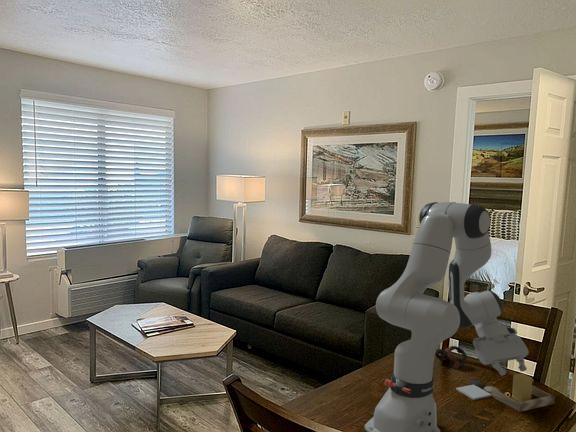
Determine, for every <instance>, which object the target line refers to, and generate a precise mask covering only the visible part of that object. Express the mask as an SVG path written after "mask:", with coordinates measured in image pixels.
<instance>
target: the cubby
mask: <svg viewBox="0 0 576 432" xmlns="http://www.w3.org/2000/svg"><path fill="white" fill-rule="evenodd" d="M491 395H492V396H491V397H492V398H494V399H496V400H497V401H499V402H501V403H503V404H505V405H506V406H508V407H510V408H512V409H513V410H515V411H517V412H519V413H520V412H524V411H525V412H526V411H529V410H534V409H538V408H539V409H540V408H542V407H546V406H547V407H548V406H550V405H551V406H552V405H555V403H556V396H555V395H553V394H551V393H549V392H547V391H545V390H543V389H540V388H538V387H536V386H535V385H532V392H531V395H534V396H535V397H536V398H533V399H532V398H531V400H528V401H523V402H519V401H517V400H515V399H514V398H512V396H511V397H510V396H509V395H507V394H506V393H505V394H504V392H502V391H500V392H499V391H497V390H496V389H492V393H491Z"/></svg>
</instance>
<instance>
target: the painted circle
mask: <svg viewBox="0 0 576 432" xmlns="http://www.w3.org/2000/svg"><path fill="white" fill-rule="evenodd" d="M492 389H496V390H497V391H499V392H501V390H500V389H499V388H497V387H495V386H490V385H489V386H488V385H487V386H484V387H483V390H484V391H486V392H488V393H490V394H492Z"/></svg>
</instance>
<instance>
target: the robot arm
mask: <svg viewBox="0 0 576 432" xmlns="http://www.w3.org/2000/svg"><path fill="white" fill-rule="evenodd" d="M418 221H419V226H418V228H417V231H416V233H415V236H414V240H413V243H412V246H411V251H410V254H409V256H408V257H409V258H408V261H407V263H406V267H405V269H404V270H403V273H402V274H401V276H400V277H399V279H398V280H397V281H396V282H395V283H393V284H392V285H391V286H389V287H388V288H385V289H384V290H382V291H381V292H380V293H379V295H378V296H377V298H376V301H375V309H376V313H377V315H378V316H377V317H379V318H380V319H382V320H383V321H385V322H387V323H389V324H391V325H393V326H395V327H400V328H403V329H405V330H408V331H410V332H411V337H410V339H408V340H405V341H402V342H400V343H399V344H398V345H397V346H396V347H395V350H394V357H393V358H394V361H393V372H392V375H391V377H390V379H389V378H386V379H385V381H384V386H386V387H389V388H388V389H387V391H386V392H385V393H384V394H383V396H382V398H381V399H380V401H379V402H378V404H377V405H376V406H375V408H374V413H373V417H371V418H370V419H369V420H368V421H367V422H366V423H365V424H364V430H365V431H366V432H441V430H440V428H439V427H438V421H437V418H438V416H437V403H436V401H435V399H434V395H433V392H434V387H435V382H434V378H433V372H434V371H433V369H434V362H435V361H434V360H435V352H436V350H437V349H439V346H440V345H441V344H442V343H443V342H444V341H445V340H447V339H449V338H451V337H453V335H455V334H456V333H457V331H458V329H462V330H467V329H469V328H471V327H473V326H474V328H475V331H476V334H477V335H478V337H474V338H473V341H472V345H473V346H474V349H475V352H476V354H477V355H476V356H477V357H478V360H479V362H480V363H481V364H483V365H484V366H486V365H491V366H492V368H493V369H495V370H496V371H497V372H498V373H499V374H500V376H504V375H507V374H508V372H507V371H506V368H504V367H502V366H501V365H500V363H501V362H502V363H503V362H507V361H513V360H516V362H517V363H518V364H519V365H518V366H517V368H518V369H519V371H520V372H525V371H527V370H528V369H527V366H526V364H525V357H527V356H528V355H529V352H530V351H529V349H528V347H527V346H526V343H525V342H524V341H523V340H522V337H520V336H519V335H517V334H518V331H517V330H516V328H514V327H509V326H505V325H504V324H501V322H500V321H499V320H498V319H497V318H498V317H500V316H501V314H502V313H503V311H504V303H503V301H502V299H501V298H500V296H499V295H498V294H497V293H495V292H493V291H491V290H485V291H480V292H479V291H478V292H477V291H474V292H470V293H468V294H467V295H466V296H465V283H466V281H467V280H468V279H469V277H471V276H472V275H473V274H474V273H475V272H477V271H478V270H479V269H481V268H483V267H484V266H485V265H487V264H488V262H489V260H490V259H491V257H492V251H493V249H492V243H491V238H490V232H489V230H490V228H491V223H492V222H491V215H490V212H489V211H488V209H487V208H486V207H485V206H482V205H479V204H475V203H473V204H469V203H462V202H456V201H453V202H452V201H445V202H444V201H443V202H436V201H435V202H429V203H427V204H425V205H424V206H423V207H422V208H421V210H420V212H419V219H418ZM453 241H454V244H455V251H454V255H453V259H452V260H451V262H450V263H449V260H450V256H451V250H452V246H453ZM448 263H449V266H448ZM447 268H448V301H447V300H445V299H442V298H440V297H435V296H432V295H426V294H425V293H424V292H425V291H426V290H427V288H428V287H430V286H431V285H434V284H437V283H440V282H441V281H442V280H443V279H444V278H445V277H446V272H447Z"/></svg>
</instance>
